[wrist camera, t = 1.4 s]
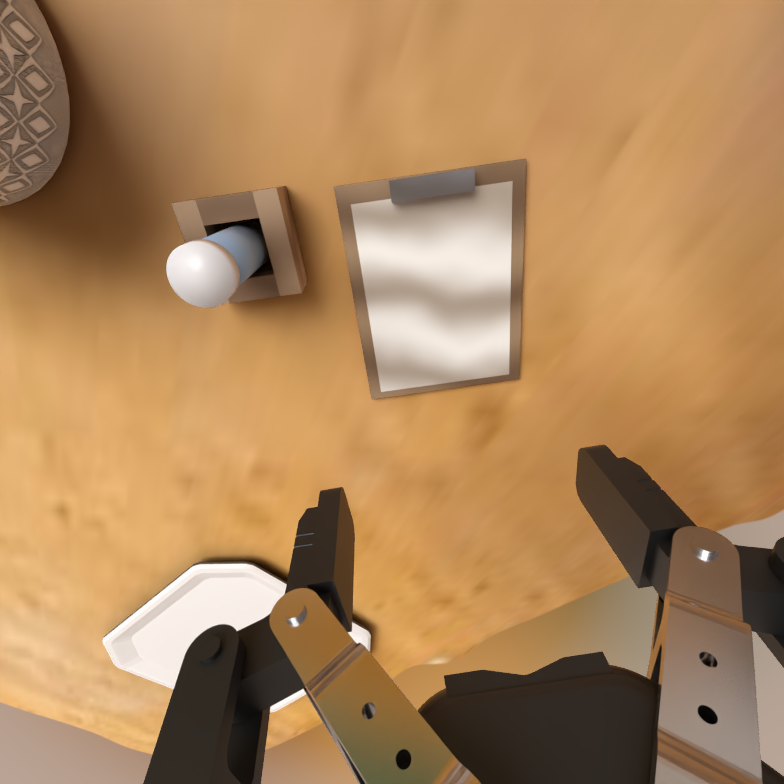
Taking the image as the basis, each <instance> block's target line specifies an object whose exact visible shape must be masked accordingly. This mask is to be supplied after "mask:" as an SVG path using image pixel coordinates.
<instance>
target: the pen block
mask: <svg viewBox="0 0 784 784" xmlns="http://www.w3.org/2000/svg"><path fill="white" fill-rule="evenodd" d="M171 204H172V207H173V210H174V213H175V215H176V218H177V221H178V224H179V227H180V229H181V232H182V235H183V238H184V240H185V243H188V242H190V241H193V240H198V239H203V238H205V237H208V236H210V235H212V234H215V233H217V232H219V231H222V230H223V227H222V224H221V223H226V222H233V221H240V220H247V219H254V218H259V219H260V222H261V226H262V230H263V234H264V237H265V241H266V245H267V249H268V252H269V256H270V260H271V264H272V266H269V267H262V268H258V269H257V270H256V271H255V272H254V273H253V274H252V275H251V276H250V277H248V278H247V279H246V280H245V281H244V282H243V283H242V284H241V285H240V286H239V287H238V288H237V289H236V291H235V292H234V294H233V295H232V296H231V297H229V298H228V299H227V300H226V301H225V302H224V303H222V304H221V305H223V304H230V303H237V302H244V301H251V300H258V299H265V298H272V297H279V296H286V295H293V294H300V293H302V292H303V290H304V288H305V286H306V284H307V282H308V281H307V276H306V272H305V268H304V263H303V259H302V255H301V250H300V246H299V242H298V237H297V233H296V228H295V224H294V220H293V215H292V211H291V207H290V202H289V198H288V194H287V189H286V186H282V187H275V188H269V189H262V190H255V191H248V192H241V193H235V194H228V195H221V196H214V197H207V198H200V199H194V200H187V201H182V202H176V203H171Z"/></svg>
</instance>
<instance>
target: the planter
mask: <svg viewBox="0 0 784 784" xmlns="http://www.w3.org/2000/svg"><path fill="white" fill-rule="evenodd" d="M69 126H70V105H69V95H68V89H67V83H66V77H65V73H64V69H63V66H62V62H61V59H60V56H59V52H58V49H57V46H56V44H55V42H54V39H53V37H52V34H51V32H50V30H49V27H48V25H47V23H46V20H45V18H44V16H43V15H42V13H41V11H40V9H39V7H38V6H37V4H36V2H35V0H0V206H4V205H10V204H13V203H15V202H18V201H21V200H24V199H26V198H28V197H29V196H31V195H32V194H34V193H35V192H37V191H38V190H40V189H41V188H42V187H43V186H44V185H45V184H46V183H47V182H48V181H49V180H50V179H51V178H52V176H53V175H54V173H55V171H56V170H57V168H58V166H59V164H60V163H61V160H62V157H63V154H64V152H65V149H66V146H67V141H68V134H69Z"/></svg>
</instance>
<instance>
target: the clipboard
mask: <svg viewBox="0 0 784 784" xmlns="http://www.w3.org/2000/svg"><path fill="white" fill-rule="evenodd" d="M525 185H526V159H520V160H514V161H507V162H500V163H493V164H486V165H479V166H473V167H466V168H459V169H452V170H445V171H438V172H432V173H425V174H418V175H411V176H404V177H397V178H390V179H384V180H377V181H370V182H363V183H356V184H349V185H343V186H336V187H334V190H335V196H336V201H337V207H338V212H339V218H340V224H341V229H342V235H343V241H344V246H345V252H346V258H347V263H348V269H349V275H350V280H351V286H352V291H353V297H354V303H355V308H356V314H357V320H358V325H359V331H360V337H361V342H362V348H363V354H364V359H365V365H366V370H367V376H368V382H369V387H370V393H371V399H378V398H386V397H393V396H400V395H407V394H414V393H422V392H429V391H436V390H443V389H451V388H458V387H465V386H472V385H479V384H487V383H494V382H501V381H508V380H515V379H519V373H520V342H521V310H522V279H523V248H524V216H525Z"/></svg>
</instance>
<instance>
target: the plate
mask: <svg viewBox="0 0 784 784" xmlns="http://www.w3.org/2000/svg"><path fill="white" fill-rule="evenodd" d="M286 586H287V582H286V581H284V580H282V579H281V578H279V577H277V576H276V575H274V574H272V573H270V572H269V571H267V570H265V569H263V568H262V567H260V566H258V565H256V564H255V563H251V562H247V561H231V562H199V563H196V564H194V565H192V566H191V567H190V568H189V569H187V570H186V571H185V572H184V573H182V574H181V575H180V576H179V577H177V578H176V579H175V580H174V581H172V582H171V583H170V584H169V585H167V586H166V587H165V588H164V589H163V590H161V591H160V592H159V593H158V594H156V595H155V596H154V597H153V598H151V599H150V600H149V601H148V602H146V603H145V604H144V605H143V606H141V607H140V608H139V609H138V610H136V611H135V612H134V613H133V614H131V615H130V616H129V617H128V618H127V619H125V620H124V621H123V622H122V623H120V624H119V625H118V626H117V627H115V628H114V629H113V630H112V631H110V632H109V633H108V634H107V635H105V636H104V638H103V644H104V646H105V648H106V650H107V652H108V654H109V656H110V657H111V659H112V661H113V663H114V665H115V666H117V667H118V668H120V669H122V670H125V671H127V672H130V673H133V674H135V675H138V676H140V677H143V678H146V679H148V680H151V681H153V682H156V683H159V684H161V685H164V686H166V687H169V688H172V689H174V687H175V684H176V681H177V678H178V674H179V671H180V668H181V665H182V662H183V659H184V656H185V653H186V651H187V649H188V648H189V646H190V645H191V643H192V642H193V641H194V640H195V639H196V638H197V637H198V636H199V635H200V634H201V633H202V632H204V631H205V630H207V629H208V628H210V627H213V626H216V625H220V624H227V625H231V626H232V627H234V628H235V629H236V631H238V630H241V629H243V628H245V627H247V626H249V625H251V624H253V623H255V622H257V621H259V620H261V619H263V618H265V617H266V616H267V615H269V614H270V613H271V611H272V609H273V607H274V605H275V604H276V602H277V601H278V600H279V599H280V598H281V597H282V596H283V595H284V594H285V590H286ZM348 634H349V635H350V636H351V637H352V639H353V640H354V641H355V642H356V643H357V644H358V643H361V644H363V645H364V646H365V647H366V648H367V650H368V651H369V652H370V643H371V633H370V631H369V630H368V628H366V627H364V626H362V625H361V624H359V623H357V622H355V621H354V620H352V632H348ZM304 695H306V693H305V691H304V690H303V689H302V690H300V691H298V692H297V693H295V694H293V695H291V696H289V697H287V698H285V699H284V700H282V701H280V702H278V703H276V704H274V705H273V706H271V707H270V712H275V711H278V710H279V709H281V708H283V707H285V706H286V705H288V704H290V703H292V702H293V701H295V700H297V699H299V698H300V697H302V696H304Z"/></svg>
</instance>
